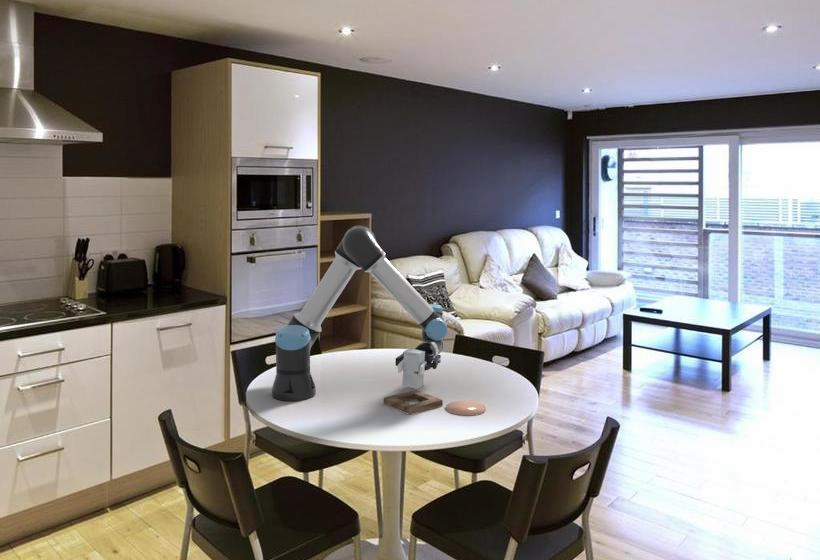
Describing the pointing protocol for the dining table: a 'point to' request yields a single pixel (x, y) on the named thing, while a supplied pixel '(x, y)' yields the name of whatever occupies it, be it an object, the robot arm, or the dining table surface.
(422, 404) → the socket block
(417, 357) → the skincare box
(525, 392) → the dining table surface
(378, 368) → the dining table surface
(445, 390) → the dining table surface
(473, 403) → the coaster
